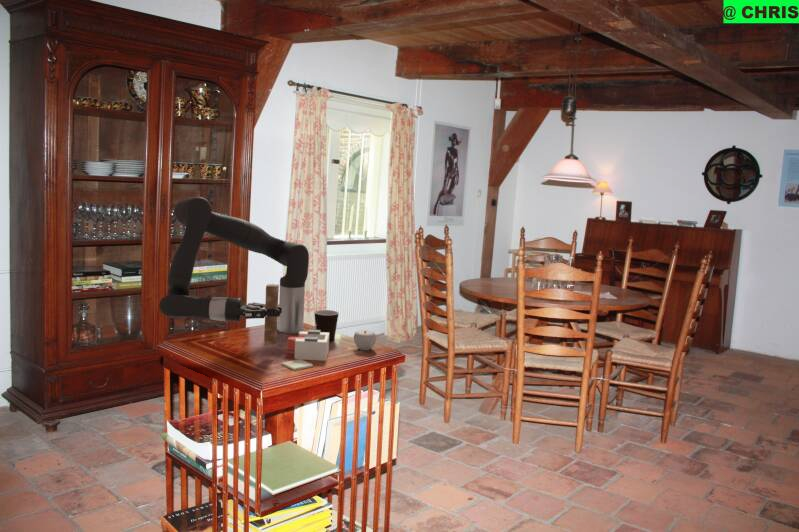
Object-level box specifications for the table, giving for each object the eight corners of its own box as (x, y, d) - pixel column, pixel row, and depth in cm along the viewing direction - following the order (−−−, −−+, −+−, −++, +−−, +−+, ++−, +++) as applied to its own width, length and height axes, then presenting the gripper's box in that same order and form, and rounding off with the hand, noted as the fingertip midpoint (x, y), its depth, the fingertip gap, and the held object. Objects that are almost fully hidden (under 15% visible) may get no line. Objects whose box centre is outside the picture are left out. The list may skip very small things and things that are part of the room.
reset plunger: (287, 349, 213) (287, 339, 212) (288, 347, 216) (289, 336, 216) (305, 350, 213) (306, 340, 212) (306, 347, 216) (307, 337, 216)
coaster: (281, 364, 202) (281, 362, 202) (300, 361, 207) (300, 359, 206) (294, 370, 197) (294, 368, 197) (313, 366, 201) (313, 364, 201)
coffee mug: (333, 343, 229) (334, 316, 228) (310, 341, 231) (311, 313, 230) (342, 336, 241) (343, 309, 239) (320, 333, 242) (321, 307, 241)
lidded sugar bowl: (377, 347, 228) (378, 329, 227) (373, 353, 220) (374, 334, 219) (355, 345, 229) (356, 327, 228) (350, 351, 221) (351, 332, 220)
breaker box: (294, 359, 208) (295, 338, 207) (299, 348, 221) (299, 328, 220) (325, 360, 209) (326, 340, 208) (328, 349, 222) (329, 330, 221)
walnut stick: (264, 344, 207) (266, 285, 204) (265, 341, 210) (267, 284, 207) (275, 345, 207) (277, 286, 204) (276, 342, 210) (278, 284, 208)
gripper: (221, 301, 199) (278, 304, 200) (231, 293, 213) (284, 296, 214) (220, 325, 200) (277, 328, 201) (230, 315, 214) (283, 318, 215)
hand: (280, 311), depth 207 cm, fingers closed on walnut stick, 3 cm apart
